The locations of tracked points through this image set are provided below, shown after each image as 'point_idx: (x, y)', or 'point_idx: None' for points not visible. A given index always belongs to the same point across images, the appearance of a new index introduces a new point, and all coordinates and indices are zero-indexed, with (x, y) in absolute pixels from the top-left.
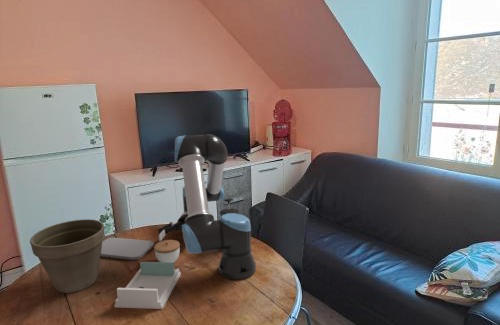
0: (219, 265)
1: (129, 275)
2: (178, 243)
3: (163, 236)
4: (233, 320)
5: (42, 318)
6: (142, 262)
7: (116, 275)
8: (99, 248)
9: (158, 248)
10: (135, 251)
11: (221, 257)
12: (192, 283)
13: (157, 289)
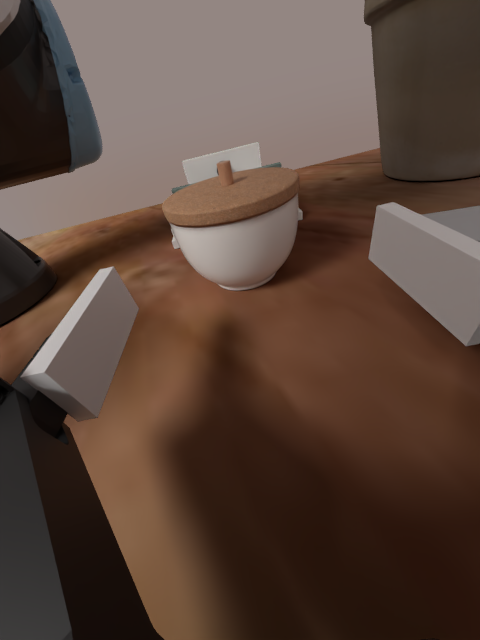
0: (38, 266)
1: (327, 209)
2: (168, 205)
3: (422, 295)
4: (79, 224)
5: (364, 152)
6: (273, 164)
7: (367, 199)
8: (387, 41)
9: (253, 169)
10: (471, 235)
11: (6, 242)
12: (138, 241)
13: (182, 162)
